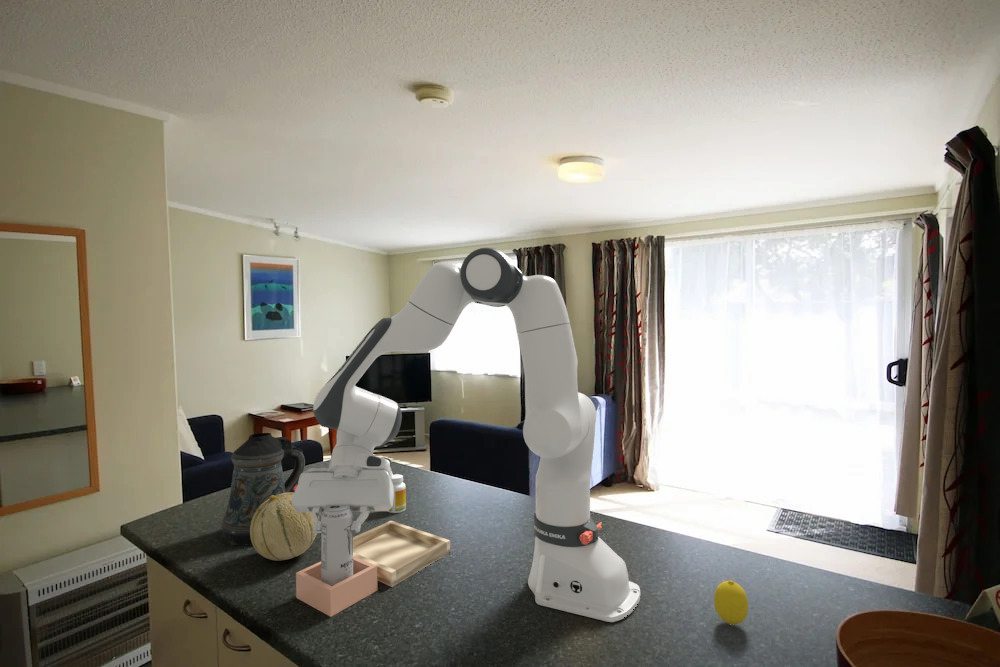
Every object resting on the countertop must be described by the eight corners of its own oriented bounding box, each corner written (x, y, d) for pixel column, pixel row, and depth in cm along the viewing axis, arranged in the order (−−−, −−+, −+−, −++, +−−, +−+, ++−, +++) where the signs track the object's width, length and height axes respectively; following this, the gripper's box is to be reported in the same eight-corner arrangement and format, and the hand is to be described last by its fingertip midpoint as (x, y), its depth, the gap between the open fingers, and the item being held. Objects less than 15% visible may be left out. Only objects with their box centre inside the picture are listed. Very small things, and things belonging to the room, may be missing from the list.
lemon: (738, 615, 93) (738, 572, 92) (754, 634, 87) (754, 588, 87) (708, 616, 92) (708, 573, 92) (722, 635, 87) (723, 589, 87)
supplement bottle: (408, 506, 146) (407, 473, 146) (402, 513, 141) (402, 479, 141) (390, 506, 147) (389, 473, 147) (384, 513, 142) (383, 479, 141)
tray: (450, 553, 118) (450, 540, 117) (391, 587, 103) (391, 572, 103) (391, 532, 129) (391, 520, 129) (331, 560, 115) (331, 546, 114)
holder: (377, 590, 102) (377, 565, 102) (330, 616, 93) (330, 590, 93) (343, 574, 108) (342, 551, 108) (296, 597, 99) (295, 572, 99)
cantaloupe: (333, 552, 118) (332, 489, 118) (274, 579, 106) (273, 509, 106) (295, 537, 127) (294, 478, 126) (237, 561, 114) (235, 495, 114)
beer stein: (205, 540, 125) (203, 440, 124) (265, 511, 143) (263, 424, 142) (258, 550, 120) (256, 445, 119) (313, 518, 138) (312, 428, 137)
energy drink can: (348, 589, 97) (348, 511, 97) (317, 590, 97) (316, 511, 97) (356, 575, 103) (356, 501, 103) (326, 576, 103) (326, 502, 103)
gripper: (297, 461, 107) (278, 526, 97) (394, 459, 106) (384, 524, 97) (306, 475, 111) (289, 538, 102) (399, 473, 111) (390, 537, 101)
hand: (336, 531), depth 99 cm, fingers closed on energy drink can, 6 cm apart
